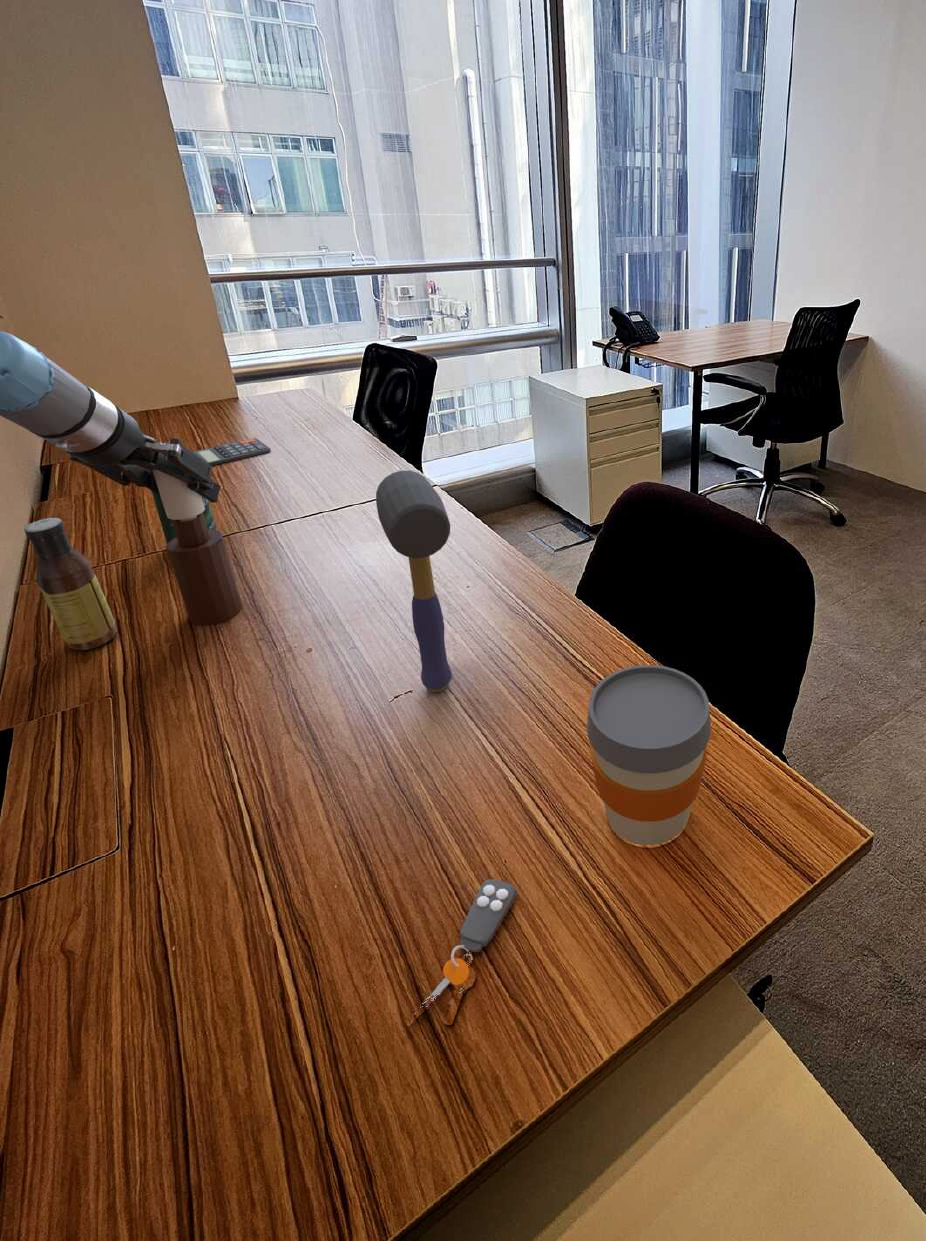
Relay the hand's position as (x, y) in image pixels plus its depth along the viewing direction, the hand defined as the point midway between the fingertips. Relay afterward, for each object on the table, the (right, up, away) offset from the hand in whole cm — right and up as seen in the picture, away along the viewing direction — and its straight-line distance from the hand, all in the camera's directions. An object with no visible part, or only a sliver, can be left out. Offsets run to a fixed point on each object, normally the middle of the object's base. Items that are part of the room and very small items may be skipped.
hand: (197, 494), depth 103 cm
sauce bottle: (-14, -22, -2) cm, 26 cm away
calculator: (-36, +10, +69) cm, 79 cm away
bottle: (0, -19, +4) cm, 19 cm away
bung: (0, -5, -2) cm, 5 cm away
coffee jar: (-16, -10, +24) cm, 31 cm away
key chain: (+53, -41, -44) cm, 80 cm away
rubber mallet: (+40, -26, -12) cm, 49 cm away
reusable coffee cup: (+69, -35, -30) cm, 83 cm away
